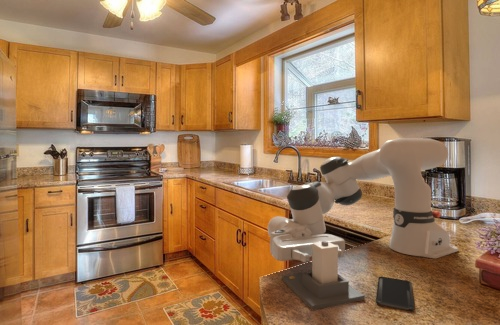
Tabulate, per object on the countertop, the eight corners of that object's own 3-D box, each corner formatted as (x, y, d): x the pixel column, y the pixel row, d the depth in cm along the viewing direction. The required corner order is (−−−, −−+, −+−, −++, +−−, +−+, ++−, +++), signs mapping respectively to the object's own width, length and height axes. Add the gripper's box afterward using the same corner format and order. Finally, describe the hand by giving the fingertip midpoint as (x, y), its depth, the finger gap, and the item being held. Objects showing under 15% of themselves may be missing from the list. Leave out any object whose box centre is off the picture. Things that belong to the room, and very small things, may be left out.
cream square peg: (327, 283, 76) (327, 238, 75) (337, 291, 72) (337, 244, 71) (312, 286, 74) (312, 240, 74) (321, 294, 70) (322, 246, 70)
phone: (375, 301, 67) (378, 275, 81) (375, 306, 67) (378, 279, 81) (415, 309, 64) (411, 281, 77) (415, 314, 64) (411, 285, 77)
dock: (326, 272, 85) (326, 258, 85) (364, 299, 70) (364, 283, 69) (281, 279, 80) (281, 265, 80) (312, 310, 65) (312, 292, 65)
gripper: (328, 247, 89) (359, 263, 76) (265, 255, 83) (287, 275, 70) (328, 226, 89) (359, 239, 76) (265, 232, 82) (287, 248, 69)
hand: (324, 256), depth 73 cm, fingers open, 8 cm apart
